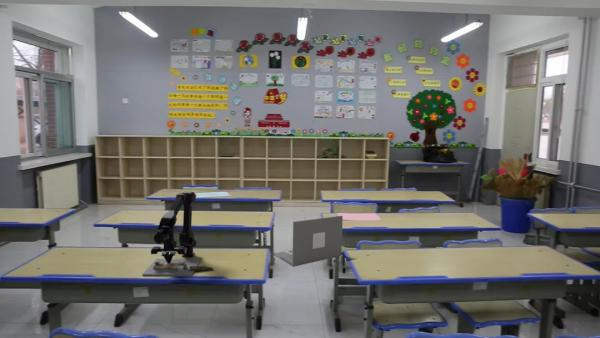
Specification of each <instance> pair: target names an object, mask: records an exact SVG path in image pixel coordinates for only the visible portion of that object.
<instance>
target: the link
mask: <svg viewBox="0 0 600 338" xmlns="http://www.w3.org/2000/svg"><path fill="white" fill-rule="evenodd" d="M178 264H179V263H159V262H155V263H154V264H153V269H167V268H178ZM186 267H187V263H185V264H184V268H186Z"/></svg>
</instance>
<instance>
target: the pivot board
mask: <svg viewBox="0 0 600 338" xmlns="http://www.w3.org/2000/svg"><path fill="white" fill-rule="evenodd" d="M201 260H202V258H172V261H171V263H180V262H186V263H187V267H186V268H184V271H178V268H167V269H153V264H154V263H155V262H159V263H167V261H166V259H165V258H156V259H154V260H153V262H152V263H151V264H150V265H149V266H148V268H146V269H145V271H143V273H142V277H192V276H193V275H194V273H195V272H196V270H192V269H190V266H199V264H200V262H201Z"/></svg>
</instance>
